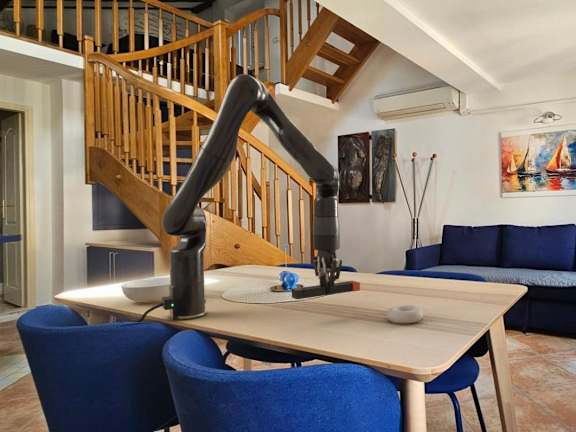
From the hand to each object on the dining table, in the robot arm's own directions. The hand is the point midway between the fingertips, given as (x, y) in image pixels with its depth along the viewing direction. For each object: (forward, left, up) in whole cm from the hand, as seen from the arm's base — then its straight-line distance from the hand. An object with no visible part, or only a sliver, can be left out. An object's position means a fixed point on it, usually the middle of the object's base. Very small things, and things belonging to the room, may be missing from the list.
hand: (327, 293), depth 119 cm
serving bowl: (-35, +62, -7) cm, 72 cm away
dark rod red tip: (0, 0, 0) cm, 0 cm away
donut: (+15, -16, -7) cm, 23 cm away
